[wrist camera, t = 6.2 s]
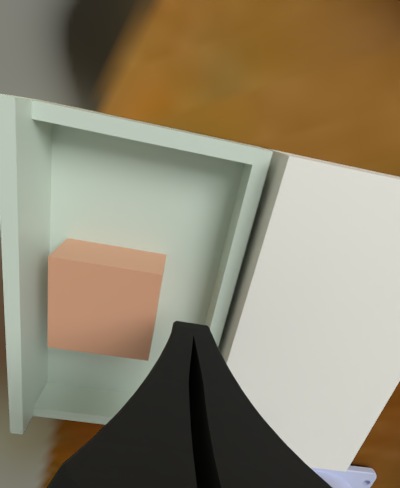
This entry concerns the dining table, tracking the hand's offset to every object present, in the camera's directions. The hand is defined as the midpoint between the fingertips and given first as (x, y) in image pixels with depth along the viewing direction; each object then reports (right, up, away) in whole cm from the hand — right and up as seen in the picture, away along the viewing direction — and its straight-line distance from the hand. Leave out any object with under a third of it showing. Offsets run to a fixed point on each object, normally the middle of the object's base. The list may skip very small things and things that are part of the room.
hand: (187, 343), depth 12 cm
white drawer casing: (+6, 0, +4) cm, 7 cm away
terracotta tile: (-4, +1, +1) cm, 4 cm away
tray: (-3, +2, +3) cm, 5 cm away
